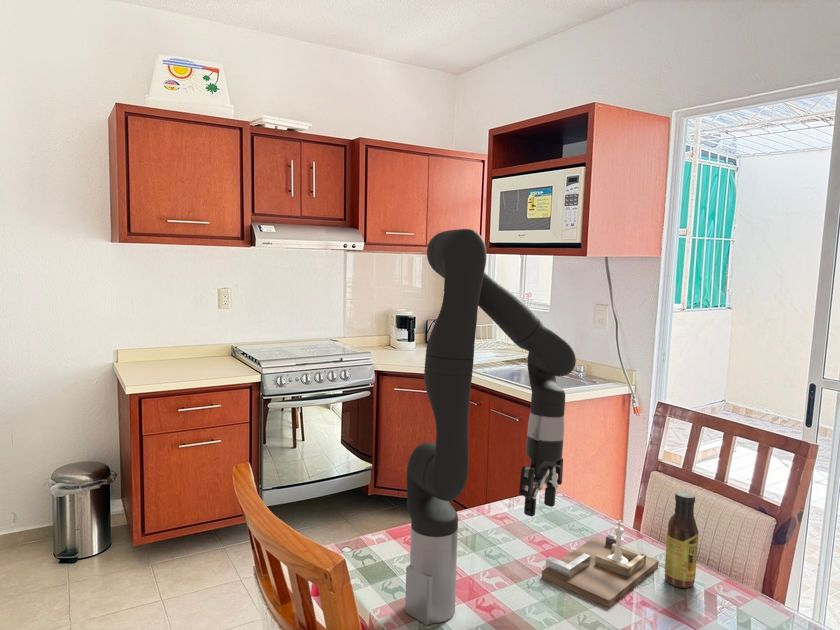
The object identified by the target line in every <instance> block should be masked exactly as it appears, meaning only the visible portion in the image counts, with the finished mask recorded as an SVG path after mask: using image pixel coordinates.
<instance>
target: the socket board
mask: <svg viewBox="0 0 840 630" xmlns="http://www.w3.org/2000/svg"><path fill="white" fill-rule="evenodd" d="M614 537H615V536H613V535H611V534H608V535H607V536H605V540H604V539H601V538H599V537H596V536H594V537H593V538H592V539H590V540H588V541H587V542H585V543H584V544H582V545H581V546H578V548H576V549H574V550H572V551H571V552H569V553H567V554H566V555H564V556H562V557H561V558H560V559H559V560H561V561H563V562H566V563H570V562H572V561H573V560H575V559H576V558H578V557H579V556H581V555H582V554H584V553H585V554H588V555H590V556H591V559H590V565H588V566H587V567H585V568H584V569H582V570H581V571H580V572H578V573H577V574H575V575H574V576H572V577H571V578H568V577H565V576H563V575H561V574H558V573H556V572H554V571H552V570H549V569H547V568H546V567H545V568H544V569H542V570H541V578H542V579H545V580H547V581H549V582H551V583H554V584H556V585H558V586H560V587H562V588H564V589H567V590H569V591H571V592H574V593H576V594H578V595H580V596H582V597H585V598H586V599H589V600H591V601H593V602H596V603H598V604H600V605H602V606H604V607H607V608H611V606H612V605H614V604H615V603H617V602H618V601H619V600H620V599H621V598H622V597H624V596H625V595H626V594H627V593H628V592H629V591H631V590H632V589H633V588H635V587H636V586H637V585H638V584H640V583H641V582H642V581H643V580H645V578H647V577H648V576H649V575H650V574H651V573H653V572H654V571H655V570H656V569H658V567H659V560H657V559H655V558H652V557H649V556H648V555H647V554H644V553H642V552H639V551H636V550H634V549H631V548H628V547H626V546H622V545H621V553H622V555H623V557H625V558H627V559H628V561H629V563H627V564H626V565H625V564H622V563H620V562H617V561H615V560H612V559H610V558H607V556H609V555H613V554H614V552H615V547H616V540H614Z"/></svg>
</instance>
